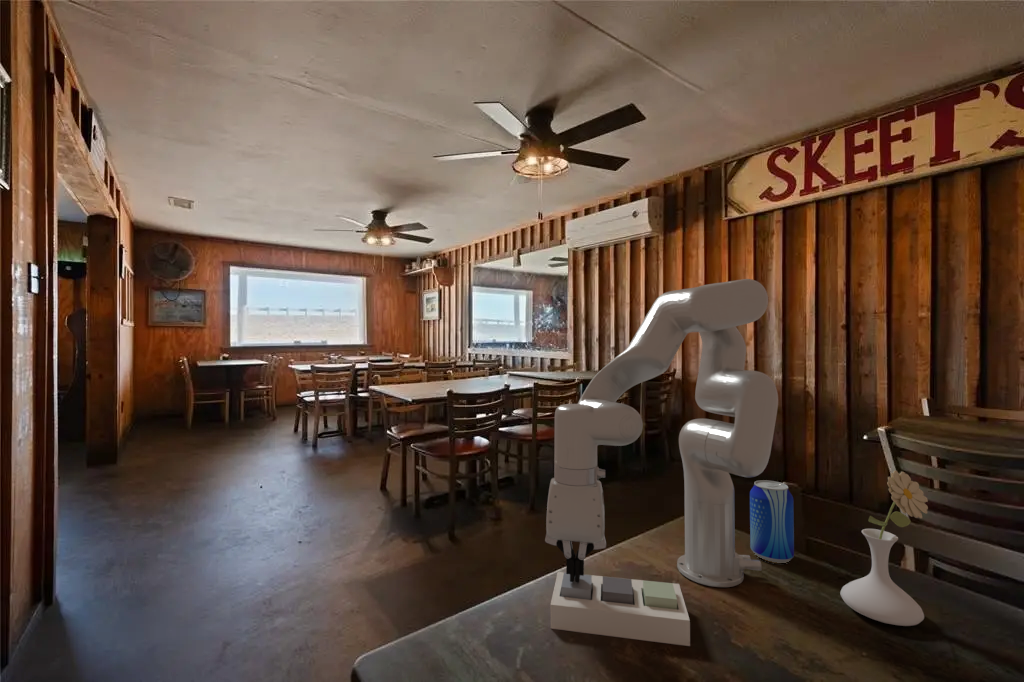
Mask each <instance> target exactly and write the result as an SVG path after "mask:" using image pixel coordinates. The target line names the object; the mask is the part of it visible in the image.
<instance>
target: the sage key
mask: <svg viewBox="0 0 1024 682" xmlns="http://www.w3.org/2000/svg"><path fill="white" fill-rule="evenodd" d="M643 600H644V606H650V607H659V608H668V609H677V598H676V594H675V590H674V587H673V582H672V583H671V582H664V583H663V581H654V582H653V580H644V581H643Z"/></svg>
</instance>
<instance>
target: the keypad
mask: <svg viewBox="0 0 1024 682" xmlns="http://www.w3.org/2000/svg"><path fill="white" fill-rule="evenodd" d="M564 573H565V572H563V571H557V574H556V577H555V578H556V579H555V584H554V588H553V592H552V595H551V601H550V629H553V630H558V631H559V630H561V631H568V632H576V633H583V634H591V635H600V636H607V637H615V638H623V639H631V640H639V641H646V642H655V643H661V644H669V645H670V644H671V645H677V646H686V647H691V622H690V621H691V620H690V617H689V613H688V610H687V606H686V602H685V600H684V596H683V593H682V590H681V586H680V583H673V582H672V583H673V587H674V590H675V594H676V598H677V609H668V608H659V607H650V606H644V600H643V581H645V580H643V579H635V578H634V579H631V578H630V579H631V581H632V591H633V605H632V604H623V603H614V602H605V601H603V598H602V589H603V577H605V576H602V575H593V574H592V595H591V600H587V599H578V598H569V597H561V586H562V581H563V575H564ZM612 577H613V576H612ZM613 578H615V577H613ZM622 578H623V577H622ZM623 579H625V578H623ZM652 581H653V580H652ZM653 582H655V581H653ZM662 582H663V581H662ZM663 583H665V582H663Z"/></svg>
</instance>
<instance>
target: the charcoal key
mask: <svg viewBox="0 0 1024 682" xmlns="http://www.w3.org/2000/svg"><path fill="white" fill-rule="evenodd" d="M602 598H603V601H605V602H614V603H623V604H632V605H633V591H632V581H631V578H624V579H623V577H614V578H613V576H611V577H610V576H604V577H603V589H602Z"/></svg>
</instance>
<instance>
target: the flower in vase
mask: <svg viewBox="0 0 1024 682" xmlns="http://www.w3.org/2000/svg"><path fill="white" fill-rule="evenodd" d="M886 483H887V486H888V491H889V494H891V496H890V497H891V501H893V502H892V504H891V505H890V508H889V510H888V513H887V516H886V518H885V521H881V520H879V519H876V518H875V517H873V516H872V515H869V517H868V522H869V523H872V524H873V525H876V526H877V525H878V526H880V527H881V529H876V528H864V529H862V530H861V533H862V535H863V536H864V537H865V539H866V540H867V543H868V545H869V546H868V547H869V548H870V554H871V569H870V571H869V573H868V574H867V575H865V576H864V577H861V578H857V579H854V580H851V581H849V582H848V583H846V584H845V585H843V586H842V587H841V590H840V592H839V593H840V597H841V599H842V600H843V601H844V604H846V605H847V606H848V607H849V608H851V609H852V610H854V611H855V612H857V613H859V614H860V615H863V616H865V617H867V618H869V619H872V620H874V621H878V622H880V623H884V624H889V625H893V626H894V625H895V626H903V627H911V626H917V625H919V624H920V623H921V622H923V621H924V619H925V614H924V611H923V609H922V607H921V606H920V604H918V603H917V601H916V600H914V599H913V597H912V596H910V595H909V594H908V593H907V592H906V591H904V590H903V589H902V588H901V587H900V586H898V585H897V584H896V583H895V582H894V581H893V580H892V579H891V577H890V572H889V557H890V552H891V548H892V547H893V545H894V544H895V543H896V542H897V541H898V540H899V537H898V536H897V535H896V534H893V533H891V532H889V531H885V529H886V526H887V525H888V522H889V520H891V521H892V522H893V523H894V524H895V525H896V526H897V527H899V528H905V527H907V526H909V525H910V524H911V523H912V522H911V519H910V518H909V517H908V516H910V517H914V518H916V519H918V518H919V519H923V513H924V514H926V515H927V514H928V509H929V507H928V505H927V504H926V503H928V501H929V499H928V497H926V496H925V495H924V494H925V493H924V491H923V490H922V489H921V488H920V484H919V482H917V481H913V480H912V478H911V477H910V476H909V474H908V473H906V472H904V471H900V472H898V470H893V472H891V473H890V476H887V482H886ZM895 505H896V506H897V507H898V508H899V509H900V511H901V512H900V511H894V512H893V510H894V507H895ZM905 514H907V515H908V516H907V515H905Z"/></svg>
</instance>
